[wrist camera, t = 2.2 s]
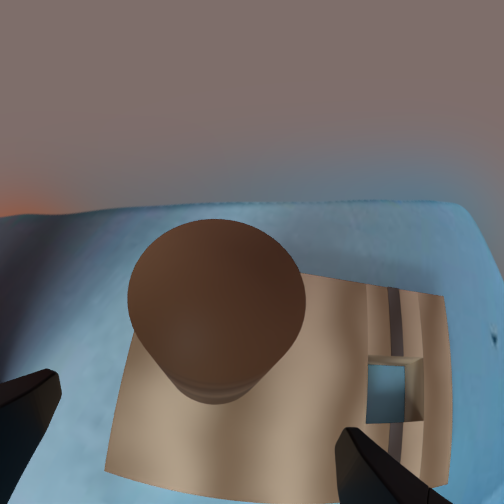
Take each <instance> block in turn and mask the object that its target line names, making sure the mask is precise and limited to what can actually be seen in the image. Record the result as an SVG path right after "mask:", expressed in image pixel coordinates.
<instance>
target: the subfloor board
mask: <svg viewBox="0 0 504 504" xmlns="http://www.w3.org/2000/svg"><path fill="white" fill-rule="evenodd" d="M300 274H301V276H302V280H303V283H304V287H305V294H306V310H305V317H304V321H303V324H302V328H301V330H300V332H299V335H298V337H297V339H296V340H295V342H294V343H293V345H292V346H291V348H290V349H289V350H288V351H287V353H286V354H285V355H284V356H283V357H282V358H281V359H280V360H279V361H278V362H277V363H276V364H275V365H274V366H273V367H272V368H271V369H270V371H269V372H268V373H267V374H266V375H265V376H264V377H263V378H262V379H261V380H260V381H259V382H258V383H257V384H256V385H255V386H254V387H253V388H252V389H251V390H250V391H249V392H247V393H246V394H245V395H244V396H242V397H241V398H239V399H237V400H235V401H232V402H230V403H226V404H219V405H210V404H204V403H200V402H197V401H195V400H192V399H190V398H189V397H187V396H185V395H184V394H183V393H182V392H180V391H179V390H178V389H177V388H176V386H175V385H174V384H173V383H172V382H171V380H170V379H169V378H168V377H167V376H166V374H165V373H164V372H163V371H162V369H161V368H160V367H159V366H158V364H157V363H156V362H155V361H154V359H153V358H152V357H151V355H150V354H149V353H148V351H147V350H146V349H145V348H144V346H143V345H142V343H141V342H140V340H139V339H138V337H137V335H136V333H135V331H134V334H133V337H132V341H131V345H130V349H129V353H128V356H127V360H126V365H125V369H124V373H123V377H122V381H121V386H120V390H119V395H118V399H117V404H116V409H115V413H114V418H113V423H112V429H111V434H110V440H109V445H108V451H107V457H106V463H105V470H104V471H106V472H109V473H112V474H115V475H118V476H121V477H124V478H127V479H131V480H134V481H138V482H141V483H145V484H149V485H152V486H156V487H160V488H165V489H169V490H173V491H178V492H183V493H188V494H193V495H199V496H205V497H211V498H218V499H226V500H234V501H244V502H256V503H272V504H325V503H340V501H339V496H338V490H337V479H336V464H335V444H336V442H337V440H338V438H339V436H340V434H341V432H342V430H343V429H344V428H345V427H358V428H359V429H360V430H361V431H363V432H364V433H365V434H366V435H367V436H368V437H369V438H371V439H372V440H373V441H374V442H375V443H376V444H378V445H379V446H380V447H381V448H382V449H384V450H385V451H386V452H387V453H388V454H390V455H391V456H392V457H393V458H394V459H396V460H397V461H398V462H399V463H400V464H402V465H403V466H404V467H405V468H407V469H408V470H409V471H410V472H411V473H413V474H414V475H415V476H416V477H418V478H419V479H420V480H421V481H423V482H424V483H425V484H427V485H428V486H429V487H430V488H434V487H438V486H442V485H446V484H448V476H449V467H450V456H451V441H452V372H451V356H450V344H449V334H448V325H447V317H446V310H445V303H444V296H438V295H432V294H426V293H419V292H413V291H407V290H401V289H398V288H392V287H382V286H376V285H370V284H364V283H358V282H352V281H346V280H340V279H334V278H328V277H322V276H316V275H310V274H304V273H300ZM368 364H370V365H389V366H405V412H404V422H401V423H382V424H366V408H367V385H368Z"/></svg>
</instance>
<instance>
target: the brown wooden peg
mask: <svg viewBox="0 0 504 504" xmlns="http://www.w3.org/2000/svg"><path fill="white" fill-rule="evenodd" d="M305 310H306V294H305V287H304V283H303V280H302V276H301V274H300V272H299V269H298V267H297V265H296V264H295V262H294V260H293V259H292V257H291V256H290V255H289V254H288V252H287V251H286V250H285V249H284V248H283V247H282V246H281V245H280V244H279V243H278V242H277V241H276V240H274V239H273V238H272V237H271V236H269V235H267V234H266V233H264V232H263V231H261V230H259V229H257V228H255V227H252V226H250V225H247V224H244V223H240V222H236V221H231V220H224V219H206V220H198V221H193V222H189V223H186V224H183V225H180V226H178V227H176V228H173V229H171V230H170V231H168V232H166V233H164V234H163V235H161V236H160V237H159V238H157V239H156V240H155V241H154V242H153V243H152V244H151V245H150V246H149V247H148V248H147V249H146V250H145V251H144V253H143V254H142V255H141V257H140V258H139V260H138V262H137V263H136V265H135V267H134V270H133V272H132V275H131V278H130V282H129V287H128V311H129V317H130V320H131V323H132V326H133V329H134V331H135V333H136V335H137V337H138V339H139V340H140V342H141V343H142V345H143V346H144V348H145V349H146V350H147V351H148V353H149V354H150V355H151V357H152V358H153V359H154V361H155V362H156V363H157V364H158V366H159V367H160V368H161V369H162V371H163V372H164V373H165V374H166V376H167V377H168V378H169V379H170V380H171V382H172V383H173V384H174V385H175V386H176V388H177V389H178V390H179V391H180V392H182V393H183V394H184V395H185V396H187V397H189V398H190V399H192V400H195V401H197V402H200V403H204V404H210V405H219V404H226V403H230V402H232V401H235V400H237V399H239V398H241V397H242V396H244V395H245V394H246V393H247V392H249V391H250V390H251V389H252V388H253V387H254V386H255V385H256V384H257V383H258V382H259V381H260V380H261V379H262V378H263V377H264V376H265V375H266V374H267V373H268V372H269V371H270V369H271V368H272V367H273V366H274V365H275V364H276V363H277V362H278V361H279V360H280V359H281V358H282V357H283V356H284V355H285V354H286V353H287V351H288V350H289V349H290V348H291V346H292V345H293V343H294V342H295V340H296V339H297V337H298V335H299V332H300V330H301V328H302V324H303V321H304V317H305Z"/></svg>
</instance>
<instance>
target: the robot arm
mask: <svg viewBox="0 0 504 504" xmlns="http://www.w3.org/2000/svg"><path fill="white" fill-rule="evenodd" d="M61 395H62V391H61V385H60V380H59V375H58V373H57V372H55V371H53V370H50V369H43V370H40V371H37V372H34V373H31V374H28V375H25V376H22V377H19V378H16V379H13V380H10V381H7V382H4V383H1V384H0V504H7V503H8V501H9V499H10V497H11V495H12V493H13V491H14V489H15V487H16V485H17V483H18V481H19V479H20V478H21V476H22V474H23V472H24V470H25V468H26V466H27V464H28V463H29V461H30V459H31V457H32V455H33V454H34V452H35V450H36V448H37V447H38V445H39V443H40V441H41V440H42V438H43V436H44V434H45V432H46V430H47V428H48V426H49V424H50V421H51V419H52V417H53V414H54V412H55V410H56V408H57V406H58V403H59V401H60V399H61ZM335 464H336V479H337V490H338V496H339V501H340V504H453V503H451V502H450V501H448V500H447V499H445V498H444V497H442V496H441V495H440V494H438V493H437V492H436V491H434V490H433V489H432V488H430V487H429V486H428V485H427V484H425V483H424V482H423V481H421V480H420V479H419V478H418V477H416V476H415V475H414V474H413V473H411V472H410V471H409V470H408V469H407V468H405V467H404V466H403V465H402V464H400V463H399V462H398V461H397V460H396V459H394V458H393V457H392V456H391V455H390V454H388V453H387V452H386V451H385V450H384V449H382V448H381V447H380V446H379V445H378V444H376V443H375V442H374V441H373V440H372V439H371V438H369V437H368V436H367V435H366V434H365V433H364V432H363V431H361V430H360V429H359V428H358V427H345V428H344V429H343V430H342V432H341V434H340V436H339V438H338V440H337V442H336V444H335Z"/></svg>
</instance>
